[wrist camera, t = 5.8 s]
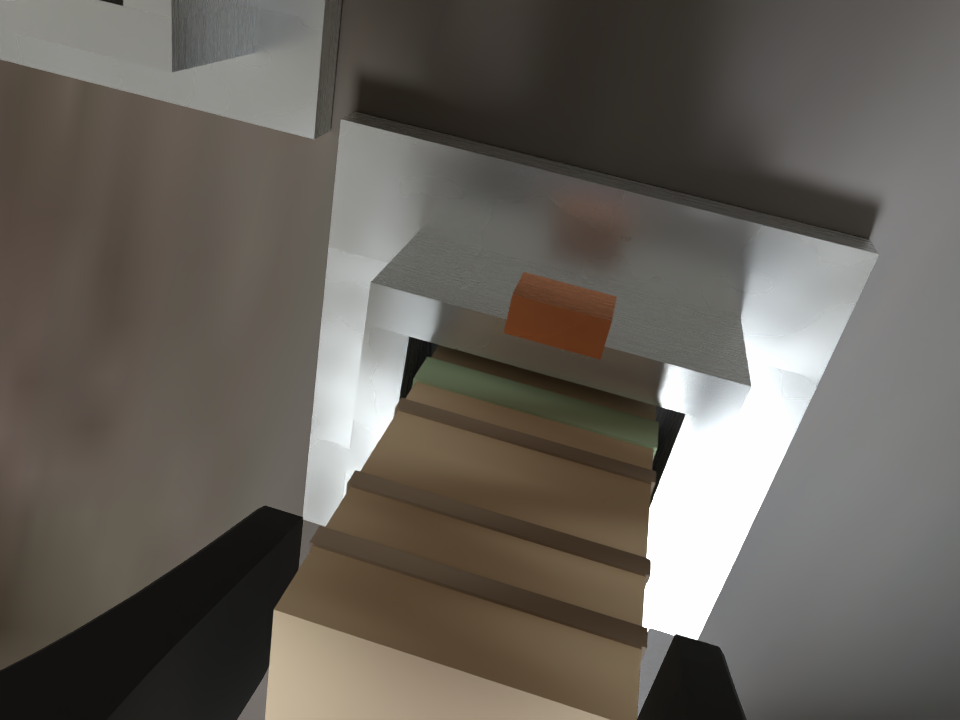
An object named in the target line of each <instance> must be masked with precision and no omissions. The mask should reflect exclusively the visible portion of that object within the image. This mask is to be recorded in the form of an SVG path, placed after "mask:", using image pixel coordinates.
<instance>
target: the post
mask: <svg viewBox="0 0 960 720" xmlns="http://www.w3.org/2000/svg"><path fill="white" fill-rule="evenodd" d="M655 416H656V406H655V405H652V404H648V403H645V402H641V401H638V400H634V399H630V398H627V397H623V396H620V395H616V394H613V393H609V392H605V391H602V390H598V389H595V388H591V387H588V386H584V385H580V384H577V383H573V382H570V381H566V380H563V379H559V378H556V377H552V376H548V375H545V374H541V373H538V372H534V371H531V370H527V369H523V368H520V367H516V366H513V365H509V364H506V363H502V362H498V361H495V360H491V359H488V358H484V357H481V356H477V355H473V354H470V353H466V352H463V351H459V350H456V349H452V348H448V347H445V346H441V345H439V346H438V347H437V349H436V350H435V352H434V354H433V355H432V357H431V358H430V357H427V358H426V359H425V361H424V363H423V364H422V366H421V367H420V369H419V371H418V372H417V374H416V375H415V377H414V379H413V385H412V389H411V390H410V392H409V394H408V395H407V397H406V398H401V399H400V400H399V402H398V404H397V405H396V407H395V412H394V418H393V419H392V421H391V422H390V424H389V426H388V427H387V429H386V431H385V432H384V434H383V435H382V437H381V439H380V440H379V442H378V443H377V445H376V447H375V448H374V450H373V451H372V453H371V455H370V456H369V458H368V459H367V461H366V463H365V464H364V466H363V467H362V469H361V471H358V470H355V471H354V473H353V474H352V476H351V478H350V479H349V481H348V482H347V488H346V495H345V496H344V498H343V499H342V501H341V503H340V504H339V506H338V507H337V509H336V511H335V512H334V514H333V515H332V517H331V519H330V520H329V522H328V523H327V525H326V527H323V526H319V528H318V530H317V531H316V533H315V534H314V536H313V537H312V539H311V541H310V545H309V554H308V555H307V557H306V559H305V560H304V562H303V563H302V565H301V567H300V568H299V570H298V571H297V573H296V575H295V576H294V578H293V579H292V581H291V583H290V584H289V586H288V587H287V589H286V591H285V592H284V594H283V595H282V597H281V599H280V600H279V602H278V604H277V605H276V607H275V608H274V612H273V625H272V638H271V651H270V663H269V676H268V689H267V702H266V715H265V720H637V712H638V695H639V679H640V663H641V660H642V658H643V656H644V653H645V651H646V649H647V636H648V628H646V627H643V613H644V597H645V588H646V586H647V583H648V581H649V578H650V576H651V560H652V559H649V558H647V547H648V531H649V515H650V498H651V494H652V491H653V488H654V486H655V483H656V471H653V470H652V465H653V459H654V456H655V453H656V451H657V447H658V428H659V422H657V421H655Z"/></svg>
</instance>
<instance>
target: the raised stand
mask: <svg viewBox="0 0 960 720" xmlns="http://www.w3.org/2000/svg"><path fill="white" fill-rule="evenodd" d="M341 6H342V0H0V59H1V60H5V61H9V62H13V63H17V64H21V65H25V66H29V67H32V68H36V69H40V70H44V71H48V72H52V73H56V74H60V75H64V76H68V77H72V78H76V79H80V80H83V81H87V82H91V83H95V84H99V85H103V86H107V87H111V88H115V89H119V90H123V91H127V92H131V93H135V94H138V95H142V96H146V97H150V98H154V99H158V100H162V101H166V102H170V103H174V104H178V105H182V106H186V107H189V108H193V109H197V110H201V111H205V112H209V113H213V114H217V115H221V116H225V117H229V118H233V119H237V120H240V121H244V122H248V123H252V124H256V125H260V126H264V127H268V128H272V129H276V130H280V131H284V132H288V133H291V134H295V135H299V136H303V137H307V138H311V139H315V138H317V137H319V136H321V135H323V134H325V133H327V132H329V131H330V129H331V117H332V106H333V95H334V84H335V73H336V62H337V51H338V40H339V28H340V17H341Z"/></svg>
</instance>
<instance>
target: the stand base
mask: <svg viewBox="0 0 960 720" xmlns="http://www.w3.org/2000/svg"><path fill="white" fill-rule="evenodd" d="M878 256H879V253H878V252H877V250H876V249H875V247H874V245H873V244H872V242H871V241H870V240H869V239H865V238H861V237H857V236H853V235H849V234H845V233H841V232H837V231H833V230H829V229H825V228H821V227H817V226H813V225H809V224H805V223H801V222H797V221H793V220H789V219H785V218H781V217H777V216H773V215H769V214H765V213H761V212H757V211H753V210H749V209H744V208H740V207H736V206H732V205H728V204H724V203H720V202H716V201H712V200H708V199H704V198H700V197H696V196H692V195H688V194H684V193H680V192H676V191H672V190H668V189H664V188H660V187H656V186H652V185H648V184H644V183H640V182H636V181H632V180H628V179H624V178H620V177H616V176H612V175H608V174H604V173H600V172H596V171H592V170H588V169H584V168H580V167H576V166H572V165H568V164H564V163H560V162H556V161H552V160H548V159H544V158H540V157H536V156H532V155H528V154H524V153H520V152H516V151H512V150H508V149H504V148H500V147H496V146H492V145H488V144H484V143H480V142H476V141H472V140H468V139H464V138H460V137H455V136H451V135H447V134H443V133H439V132H435V131H431V130H427V129H423V128H419V127H415V126H411V125H407V124H403V123H399V122H395V121H391V120H387V119H383V118H379V117H375V116H371V115H367V114H363V113H359V112H355V113H353V114H351V115H349V116H347V117H345V118H342V119H341V124H340V134H339V145H338V155H337V166H336V176H335V186H334V197H333V207H332V218H331V228H330V239H329V249H328V259H327V270H326V280H325V291H324V301H323V311H322V322H321V332H320V343H319V353H318V364H317V374H316V384H315V395H314V405H313V416H312V426H311V437H310V447H309V457H308V468H307V478H306V489H305V499H304V509H303V519H304V520H307V521H310V522H313V523H317V524H320V525H323V526H326V525H327V523H328V522H329V520H330V519H331V517H332V515H333V514H334V512H335V511H336V509H337V507H338V506H339V504H340V503H341V501H342V499H343V498H344V496H345V495H346V488H347V482H348V481H349V479H350V478H351V476H352V474H353V473H354V471H355V470H358V471H361V469H362V467H363V466H364V464H365V463H366V461H367V459H368V458H369V456H370V455H371V453H372V451H373V450H374V448H375V447H376V445H377V443H378V442H379V440H380V439H381V437H382V435H383V434H384V432H385V431H386V429H387V427H388V426H389V424H390V422H391V421H392V419H393V418H394V412H395V407H396V405H397V404H398V402H399V400H400V399H401V398H406V397H407V395H408V394H409V392H410V390H411V389H412V385H413V379H414V377H415V375H416V374H417V372H418V371H419V369H420V367H421V366H422V364H423V363H424V361H425V359H426V358H427V357H430V358H431V357H432V355H433V354H434V352H435V350H436V349H437V347H438V346H439V345H441V346H445V347H448V348H452V349H456V350H459V351H463V352H466V353H470V354H473V355H477V356H481V357H484V358H488V359H491V360H495V361H498V362H502V363H506V364H509V365H513V366H516V367H520V368H523V369H527V370H531V371H534V372H538V373H541V374H545V375H548V376H552V377H556V378H559V379H563V380H566V381H570V382H573V383H577V384H580V385H584V386H588V387H591V388H595V389H598V390H602V391H605V392H609V393H613V394H616V395H620V396H623V397H627V398H630V399H634V400H638V401H641V402H645V403H648V404H652V405H655V406H657V407H656V416H655V421H657V422H659V428H658V447H657V451H656V453H655V456H654V459H653V465H652V470H653V471H656V483H655V486H654V488H653V491H652V494H651V498H650V515H649V531H648V547H647V558H649V559H652V560H651V576H650V578H649V581H648V583H647V586H646V588H645V597H644V613H643V627H646V628H648V630H649V628H653V629H656V630H659V631H663V632H666V633H669V634H672V635H675V634H679V635H682V636H685V637H689V638H692V639H695V640H697V639H698V637H699V635H700V633H701V631H702V629H703V627H704V625H705V622H706V620H707V618H708V616H709V614H710V612H711V610H712V608H713V605H714V603H715V601H716V599H717V597H718V595H719V593H720V591H721V589H722V586H723V584H724V582H725V580H726V578H727V576H728V574H729V572H730V569H731V567H732V565H733V563H734V561H735V559H736V557H737V555H738V552H739V550H740V548H741V546H742V544H743V542H744V540H745V538H746V536H747V533H748V531H749V529H750V527H751V525H752V523H753V521H754V519H755V516H756V514H757V512H758V510H759V508H760V506H761V504H762V502H763V499H764V497H765V495H766V493H767V491H768V489H769V487H770V485H771V483H772V480H773V478H774V476H775V474H776V472H777V470H778V468H779V466H780V463H781V461H782V459H783V457H784V455H785V453H786V451H787V449H788V447H789V444H790V442H791V440H792V438H793V436H794V434H795V432H796V430H797V427H798V425H799V423H800V421H801V419H802V417H803V415H804V413H805V410H806V408H807V406H808V404H809V402H810V400H811V398H812V396H813V394H814V391H815V389H816V387H817V385H818V383H819V381H820V379H821V377H822V374H823V372H824V370H825V368H826V366H827V364H828V362H829V360H830V357H831V355H832V353H833V351H834V349H835V347H836V345H837V343H838V341H839V338H840V336H841V334H842V332H843V330H844V328H845V326H846V324H847V321H848V319H849V317H850V315H851V313H852V311H853V309H854V307H855V304H856V302H857V300H858V298H859V296H860V294H861V292H862V290H863V288H864V285H865V283H866V281H867V279H868V277H869V275H870V273H871V271H872V268H873V266H874V264H875V262H876V260H877V258H878Z"/></svg>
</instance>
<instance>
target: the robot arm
mask: <svg viewBox="0 0 960 720" xmlns="http://www.w3.org/2000/svg"><path fill="white" fill-rule="evenodd" d="M302 526H303V517H300V516H297V515H294V514H291V513H288V512H284V511H281V510H278V509H275V508H272V507H268V506H263V507H261V508H259V509H257V510H256V511H254V512H253V513H252V514H250V515H249V516H247V517H246V518H245V519H243V520H242V521H241V522H239V523H238V524H236V525H235V526H234V527H232V528H231V529H230V530H228V531H227V532H225V533H224V534H223V535H221V536H220V537H218V538H217V539H216V540H214V541H213V542H211V543H210V544H209V545H207V546H206V547H204V548H203V549H202V550H200V551H199V552H197V553H196V554H194V555H193V556H191V557H190V558H189V559H187V560H186V561H184V562H183V563H181V564H180V565H178V566H177V567H175V568H174V569H172V570H171V571H169V572H168V573H166V574H165V575H163V576H162V577H160V578H159V579H157V580H156V581H154V582H153V583H151V584H150V585H148V586H147V587H145V588H144V589H142V590H141V591H139V592H138V593H136V594H134V595H133V596H131V597H130V598H128V599H126V600H125V601H123V602H121V603H120V604H118V605H116V606H115V607H113V608H112V609H110V610H108V611H107V612H105V613H103V614H102V615H100V616H98V617H97V618H95V619H93V620H92V621H90V622H88V623H87V624H85V625H83V626H82V627H80V628H78V629H77V630H75V631H73V632H71V633H70V634H68V635H66V636H64V637H63V638H61V639H59V640H57V641H55V642H54V643H52V644H50V645H48V646H46V647H45V648H43V649H41V650H39V651H37V652H35V653H33V654H32V655H30V656H28V657H26V658H24V659H22V660H20V661H18V662H16V663H14V664H12V665H10V666H8V667H6V668H4V669H2V670H0V720H237V719H238V717H239V715H240V714H241V712H242V711H243V709H244V708H245V706H246V704H247V703H248V701H249V700H250V698H251V696H252V695H253V693H254V692H255V690H256V688H257V687H258V685H259V684H260V682H261V680H262V679H263V677H264V675H265V673H266V671H267V669H268V667H269V663H270V651H271V638H272V625H273V612H274V608H275V607H276V605H277V604H278V602H279V600H280V599H281V597H282V595H283V594H284V592H285V591H286V589H287V587H288V586H289V584H290V583H291V581H292V579H293V578H294V576H295V575H296V573H297V571H298V568H299V557H300V547H301V536H302ZM637 720H746V717H745V714H744V711H743V709H742V706H741V703H740V700H739V698H738V695H737V692H736V689H735V686H734V683H733V681H732V678H731V675H730V672H729V669H728V666H727V663H726V660H725V657H724V654H723V653H722V651H721V649H720V648H719V647H717V646H714V645H711V644H708V643H705V642H701V641H698V640H695V639H692V638H689V637H685V636H682V635H679V634H675V636H674V638H673V640H672V643H671V645H670V647H669V649H668V652H667V654H666V656H665V658H664V660H663V663H662V665H661V667H660V669H659V672H658V674H657V676H656V678H655V680H654V683H653V685H652V687H651V689H650V692H649V694H648V696H647V698H646V701H645V703H644V705H643V707H642V709H641V712H640V714H639V716H638V718H637Z"/></svg>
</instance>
